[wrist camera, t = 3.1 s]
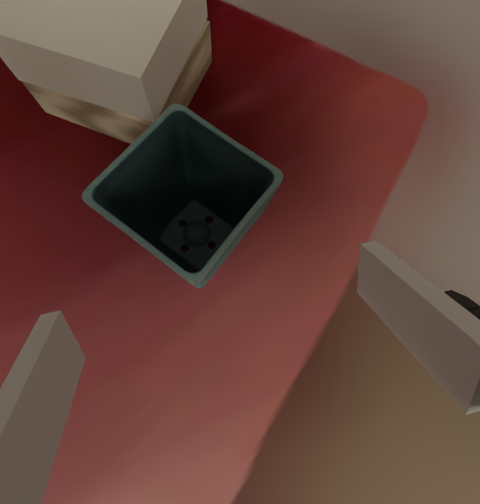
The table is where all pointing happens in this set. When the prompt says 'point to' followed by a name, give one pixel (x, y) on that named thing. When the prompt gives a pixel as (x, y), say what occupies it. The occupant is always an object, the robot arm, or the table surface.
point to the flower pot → (185, 192)
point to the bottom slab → (121, 123)
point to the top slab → (102, 48)
